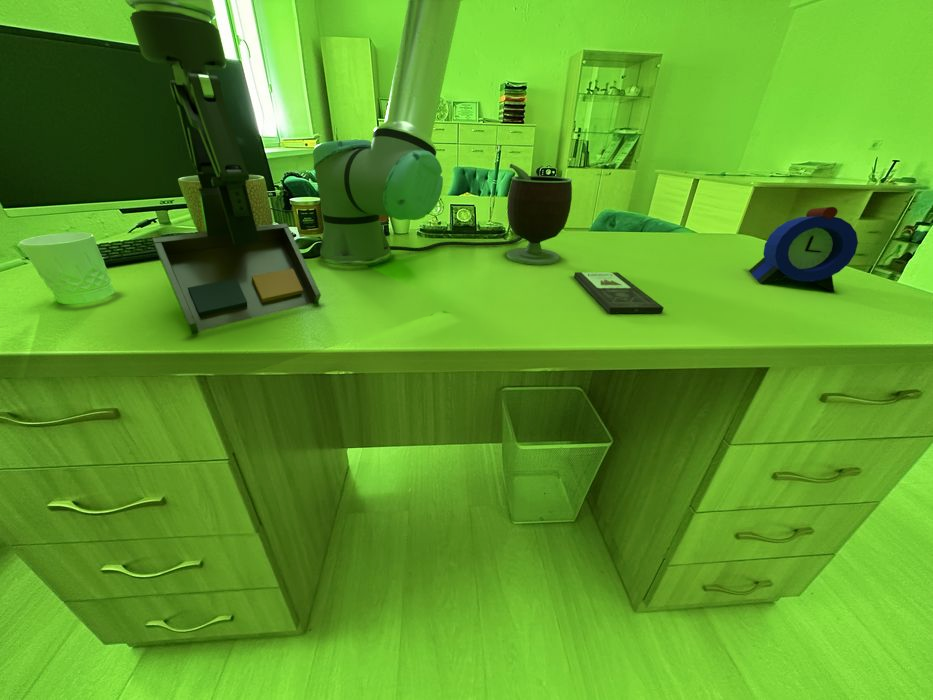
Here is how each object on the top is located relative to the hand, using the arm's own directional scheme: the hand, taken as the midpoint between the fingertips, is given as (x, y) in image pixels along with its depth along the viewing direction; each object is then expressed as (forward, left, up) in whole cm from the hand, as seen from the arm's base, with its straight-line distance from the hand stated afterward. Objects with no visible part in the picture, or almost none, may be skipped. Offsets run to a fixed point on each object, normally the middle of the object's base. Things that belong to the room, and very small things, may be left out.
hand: (234, 232), depth 49 cm
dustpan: (0, -4, -8) cm, 9 cm away
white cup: (+19, -24, -13) cm, 33 cm away
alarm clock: (-90, +47, -13) cm, 102 cm away
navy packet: (+4, -2, -9) cm, 10 cm away
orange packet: (-4, -2, -9) cm, 10 cm away
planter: (-9, -48, -13) cm, 51 cm away
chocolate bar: (-53, +28, -13) cm, 61 cm away
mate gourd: (-59, +3, -13) cm, 61 cm away
